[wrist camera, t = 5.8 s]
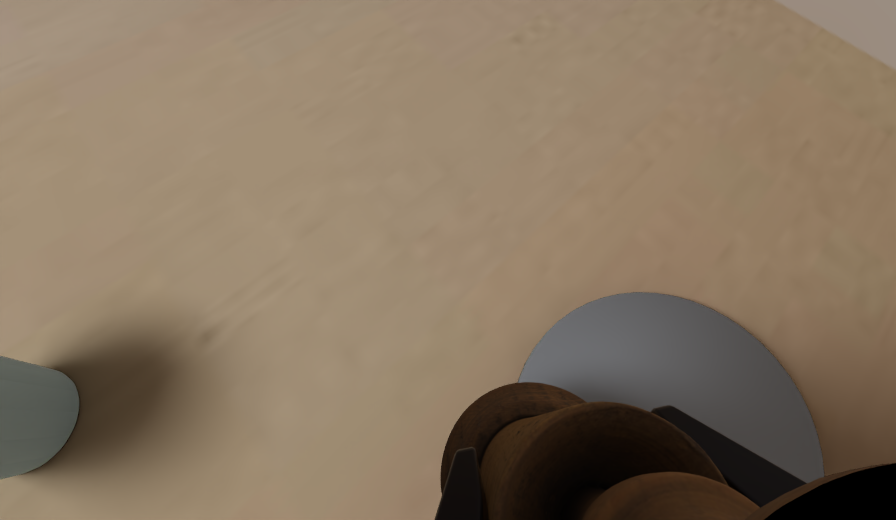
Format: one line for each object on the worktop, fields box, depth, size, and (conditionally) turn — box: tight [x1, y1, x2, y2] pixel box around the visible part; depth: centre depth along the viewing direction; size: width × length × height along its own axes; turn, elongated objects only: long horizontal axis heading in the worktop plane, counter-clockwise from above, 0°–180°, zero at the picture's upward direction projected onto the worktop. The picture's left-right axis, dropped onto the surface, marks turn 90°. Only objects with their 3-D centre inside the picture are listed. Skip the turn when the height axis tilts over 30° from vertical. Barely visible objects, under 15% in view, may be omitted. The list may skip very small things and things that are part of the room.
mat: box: [518, 292, 824, 483], centre depth 21 cm, size 14×14×1 cm
